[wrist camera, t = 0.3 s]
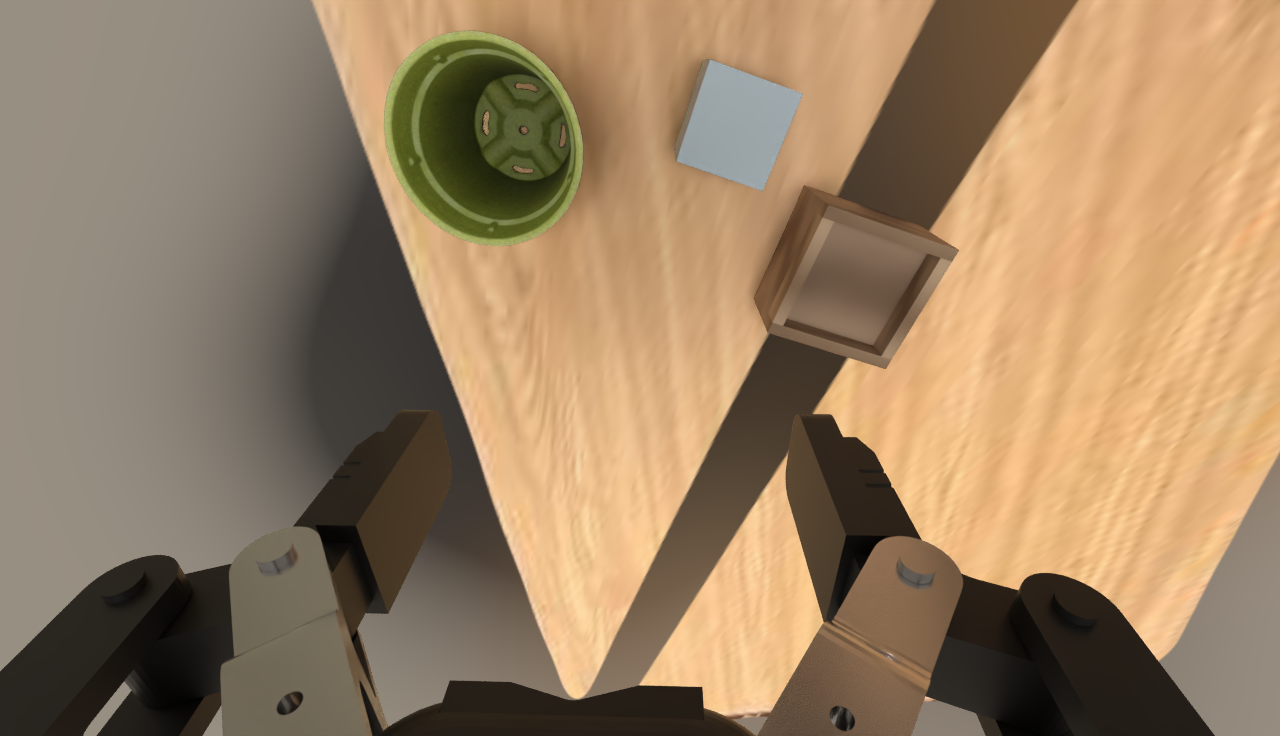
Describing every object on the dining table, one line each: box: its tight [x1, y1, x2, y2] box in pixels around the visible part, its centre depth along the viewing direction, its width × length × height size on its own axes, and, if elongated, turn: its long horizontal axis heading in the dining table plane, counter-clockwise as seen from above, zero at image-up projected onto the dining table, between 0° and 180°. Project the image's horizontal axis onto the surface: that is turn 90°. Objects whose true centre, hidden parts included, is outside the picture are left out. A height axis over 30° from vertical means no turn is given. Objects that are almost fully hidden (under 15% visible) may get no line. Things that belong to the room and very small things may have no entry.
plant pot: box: [384, 31, 583, 246], centre depth 30 cm, size 9×9×9 cm
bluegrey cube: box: [674, 59, 803, 191], centre depth 31 cm, size 5×5×5 cm
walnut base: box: [754, 186, 959, 369], centre depth 34 cm, size 8×8×6 cm
